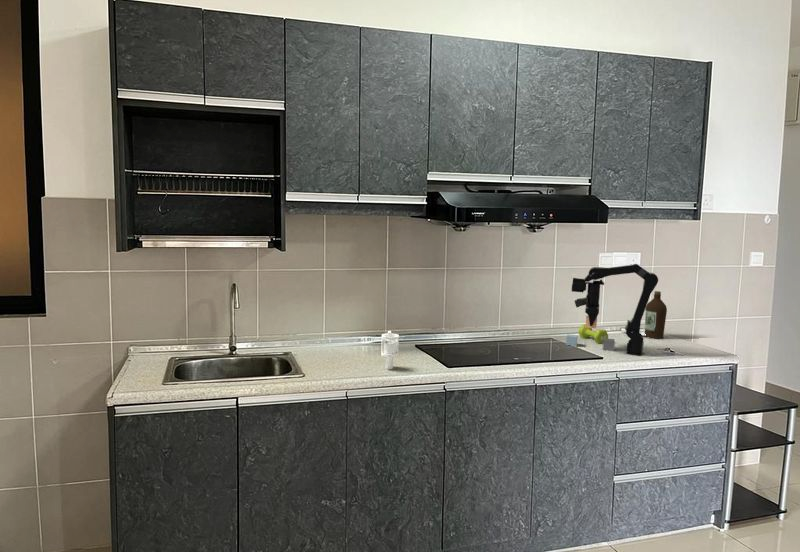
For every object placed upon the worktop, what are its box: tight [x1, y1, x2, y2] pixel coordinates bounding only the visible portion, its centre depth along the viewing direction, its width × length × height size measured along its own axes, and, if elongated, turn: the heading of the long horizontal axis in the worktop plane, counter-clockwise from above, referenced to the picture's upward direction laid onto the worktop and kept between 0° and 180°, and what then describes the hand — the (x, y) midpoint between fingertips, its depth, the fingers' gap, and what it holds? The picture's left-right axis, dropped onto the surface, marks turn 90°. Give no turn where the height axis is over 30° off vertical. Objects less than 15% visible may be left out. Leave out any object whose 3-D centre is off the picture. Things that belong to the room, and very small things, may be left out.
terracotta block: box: [585, 315, 598, 329], centre depth 290 cm, size 5×5×5 cm
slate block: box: [565, 333, 579, 348], centre depth 298 cm, size 5×5×5 cm
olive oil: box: [644, 290, 668, 340], centre depth 322 cm, size 11×11×25 cm
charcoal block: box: [602, 337, 615, 352], centre depth 292 cm, size 5×5×5 cm
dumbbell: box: [577, 323, 609, 345], centre depth 311 cm, size 16×8×7 cm, turn 20°
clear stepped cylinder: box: [380, 330, 400, 370], centre depth 246 cm, size 7×7×15 cm
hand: (591, 324), depth 290 cm, fingers closed on terracotta block, 5 cm apart
